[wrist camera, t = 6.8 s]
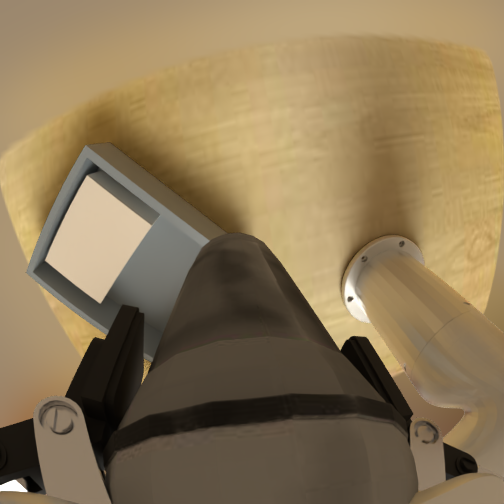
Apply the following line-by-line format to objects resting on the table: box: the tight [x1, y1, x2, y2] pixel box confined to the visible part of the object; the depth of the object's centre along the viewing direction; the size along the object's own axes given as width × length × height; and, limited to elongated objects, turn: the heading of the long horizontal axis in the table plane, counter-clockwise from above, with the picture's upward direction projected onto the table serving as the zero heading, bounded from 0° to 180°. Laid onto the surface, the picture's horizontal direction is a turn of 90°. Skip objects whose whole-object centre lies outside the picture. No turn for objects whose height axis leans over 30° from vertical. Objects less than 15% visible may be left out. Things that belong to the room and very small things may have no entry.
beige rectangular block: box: [45, 170, 160, 304], centre depth 27 cm, size 8×11×4 cm
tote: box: [26, 143, 228, 363], centre depth 29 cm, size 20×16×6 cm
